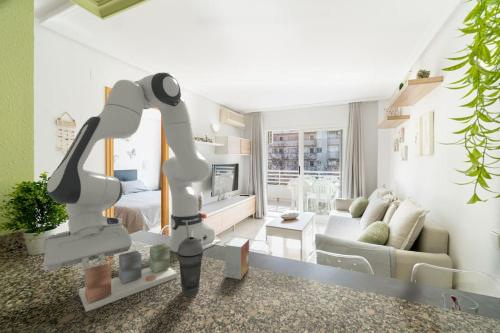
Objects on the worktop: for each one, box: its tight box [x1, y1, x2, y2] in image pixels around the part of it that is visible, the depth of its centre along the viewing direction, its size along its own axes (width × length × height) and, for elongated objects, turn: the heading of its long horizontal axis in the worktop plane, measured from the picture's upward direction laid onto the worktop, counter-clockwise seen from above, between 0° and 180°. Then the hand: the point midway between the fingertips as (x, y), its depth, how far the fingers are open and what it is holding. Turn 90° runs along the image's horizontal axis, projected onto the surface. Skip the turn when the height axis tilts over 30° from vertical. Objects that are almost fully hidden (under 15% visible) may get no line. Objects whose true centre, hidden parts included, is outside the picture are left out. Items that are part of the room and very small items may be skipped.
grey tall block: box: [118, 250, 142, 283], centre depth 69 cm, size 5×4×7 cm
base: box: [78, 266, 178, 313], centre depth 69 cm, size 24×10×2 cm, turn 134°
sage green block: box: [149, 243, 171, 272], centre depth 76 cm, size 5×4×7 cm
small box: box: [224, 237, 250, 280], centre depth 77 cm, size 8×6×10 cm
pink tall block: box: [84, 263, 112, 303], centre depth 60 cm, size 5×4×7 cm
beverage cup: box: [176, 222, 204, 297], centre depth 65 cm, size 7×7×20 cm
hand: (95, 273), depth 62 cm, fingers closed, pressing on pink tall block
